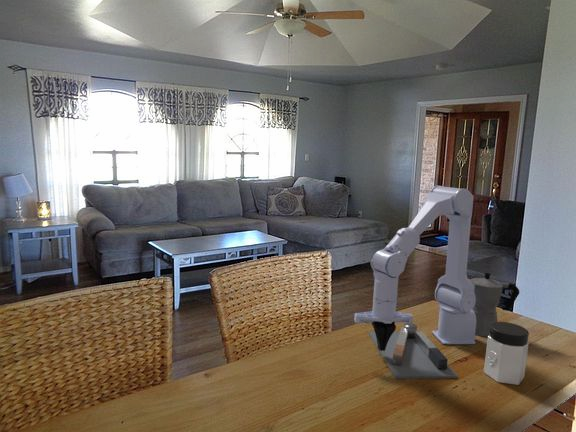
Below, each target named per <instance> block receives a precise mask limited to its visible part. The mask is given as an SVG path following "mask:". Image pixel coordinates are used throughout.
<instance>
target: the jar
mask: <svg viewBox="0 0 576 432" xmlns="http://www.w3.org/2000/svg"><path fill="white" fill-rule="evenodd" d="M529 334H530V333H529V330H528V329H526V328H525V327H523V326H521V325H519V324H517V323H512V322H508V321H498V322H494V323H492V324H491V326H490V335H489V336H488V337H487V342H486V349H485V351H486V352H485V357H484V358H485V359H484V365H483V373H484V374H486V375H487V376H488V377H489V378H491V379H492V380H494V381H495V382H497V383H500V384H501V383H502V384H509V385H516V386H518V385H520V384H521V383H522V381H523V380H524V379H525V374H526V373H525V372H526V367H527V358H528V352H529V351H528V350H529V344H530V343H529Z"/></svg>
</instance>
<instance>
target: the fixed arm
mask: <svg viewBox="0 0 576 432" xmlns="http://www.w3.org/2000/svg"><path fill="white" fill-rule="evenodd" d="M414 340H415V341H416V342H417V343H418V345H419V346H420V347H421V348H422V350H423V351H424V352H425V353H426V354H427V356H428V357H429V359H430V360H431V361H432V362H433V363H434V365H435V366H436V367H437V368H438V369H447V364H448V358H447V357H446V356H445V355H444V354H443V353H442V351H440V349H439V348H438V347H437V346H436V345H435V344H434V343H433V342H432V341H431V340H430V338H429V337H428V336H427V335H426V334H425V333H424V332H423V331H418V330H417V331H415V338H414Z"/></svg>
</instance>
